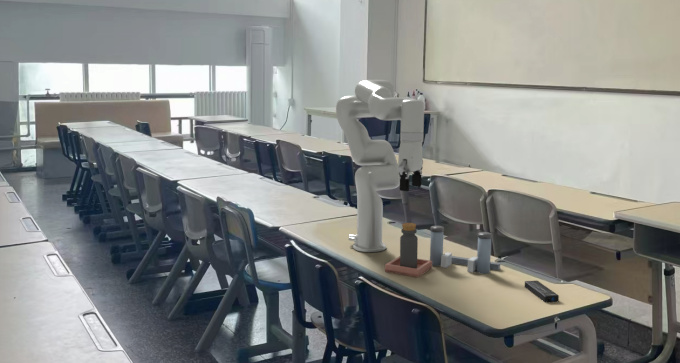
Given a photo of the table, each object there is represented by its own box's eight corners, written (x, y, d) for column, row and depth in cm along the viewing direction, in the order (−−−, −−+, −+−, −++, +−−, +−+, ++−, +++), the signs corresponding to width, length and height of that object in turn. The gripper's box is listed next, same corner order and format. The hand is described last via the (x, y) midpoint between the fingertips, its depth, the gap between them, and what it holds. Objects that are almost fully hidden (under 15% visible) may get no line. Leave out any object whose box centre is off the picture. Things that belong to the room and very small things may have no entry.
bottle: (416, 270, 229) (417, 226, 226) (399, 269, 230) (399, 226, 227) (417, 265, 234) (418, 222, 232) (400, 264, 235) (401, 221, 233)
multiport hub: (537, 287, 216) (537, 280, 216) (558, 303, 202) (559, 295, 202) (523, 288, 215) (524, 281, 215) (545, 303, 201) (545, 296, 201)
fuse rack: (422, 264, 238) (423, 227, 236) (432, 258, 246) (433, 222, 243) (492, 275, 226) (494, 236, 224) (500, 268, 233) (501, 231, 231)
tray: (385, 271, 230) (385, 264, 229) (400, 262, 240) (400, 255, 240) (417, 277, 224) (418, 270, 223) (431, 267, 234) (432, 260, 234)
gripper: (412, 134, 233) (411, 183, 236) (389, 139, 219) (389, 191, 222) (432, 135, 230) (431, 185, 233) (411, 140, 215) (410, 193, 218)
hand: (410, 188), depth 227 cm, fingers open, 9 cm apart
